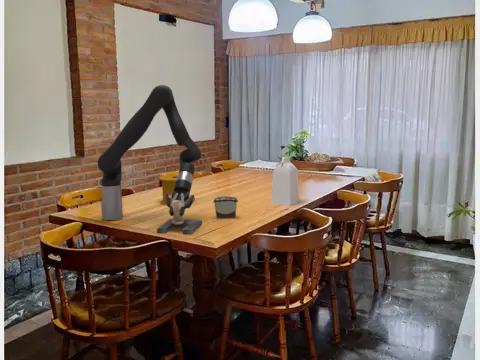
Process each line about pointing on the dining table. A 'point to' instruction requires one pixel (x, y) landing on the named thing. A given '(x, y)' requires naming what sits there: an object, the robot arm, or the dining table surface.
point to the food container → (225, 207)
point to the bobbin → (177, 212)
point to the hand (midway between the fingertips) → (176, 215)
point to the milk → (285, 184)
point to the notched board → (188, 224)
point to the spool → (168, 187)
